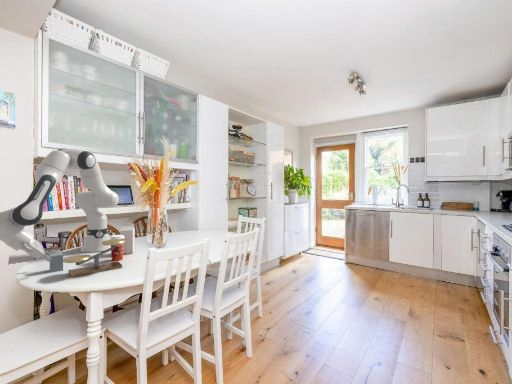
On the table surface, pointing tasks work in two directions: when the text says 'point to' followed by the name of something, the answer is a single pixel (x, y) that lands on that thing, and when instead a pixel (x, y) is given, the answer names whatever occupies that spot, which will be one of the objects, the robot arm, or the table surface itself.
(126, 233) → the milk carton
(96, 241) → the robot arm
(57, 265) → the block
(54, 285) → the table surface
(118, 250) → the paper cup
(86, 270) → the balance
